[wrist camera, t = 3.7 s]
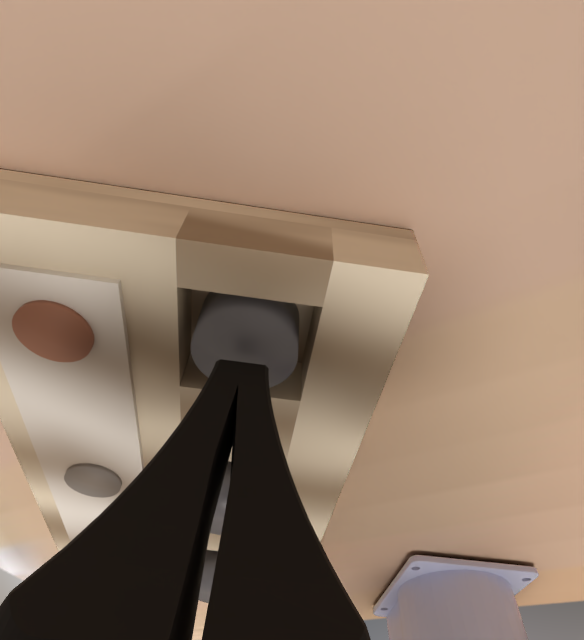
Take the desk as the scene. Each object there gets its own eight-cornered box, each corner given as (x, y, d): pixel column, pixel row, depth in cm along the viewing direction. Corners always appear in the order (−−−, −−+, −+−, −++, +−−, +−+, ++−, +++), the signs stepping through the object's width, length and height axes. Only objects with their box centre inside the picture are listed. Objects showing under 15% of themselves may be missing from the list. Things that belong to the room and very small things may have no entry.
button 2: (251, 572, 25) (247, 607, 24) (194, 567, 25) (187, 601, 23) (256, 548, 23) (252, 583, 22) (194, 541, 23) (187, 577, 21)
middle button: (265, 501, 20) (262, 539, 19) (194, 493, 20) (186, 531, 18) (274, 460, 18) (271, 501, 16) (194, 451, 18) (185, 491, 16)
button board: (298, 556, 28) (296, 607, 26) (87, 535, 27) (67, 586, 25) (412, 230, 13) (432, 283, 11) (-36, 163, 12) (-110, 206, 10)
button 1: (292, 359, 16) (290, 396, 14) (200, 347, 15) (190, 383, 14) (306, 285, 14) (306, 320, 12) (202, 271, 13) (190, 304, 12)
